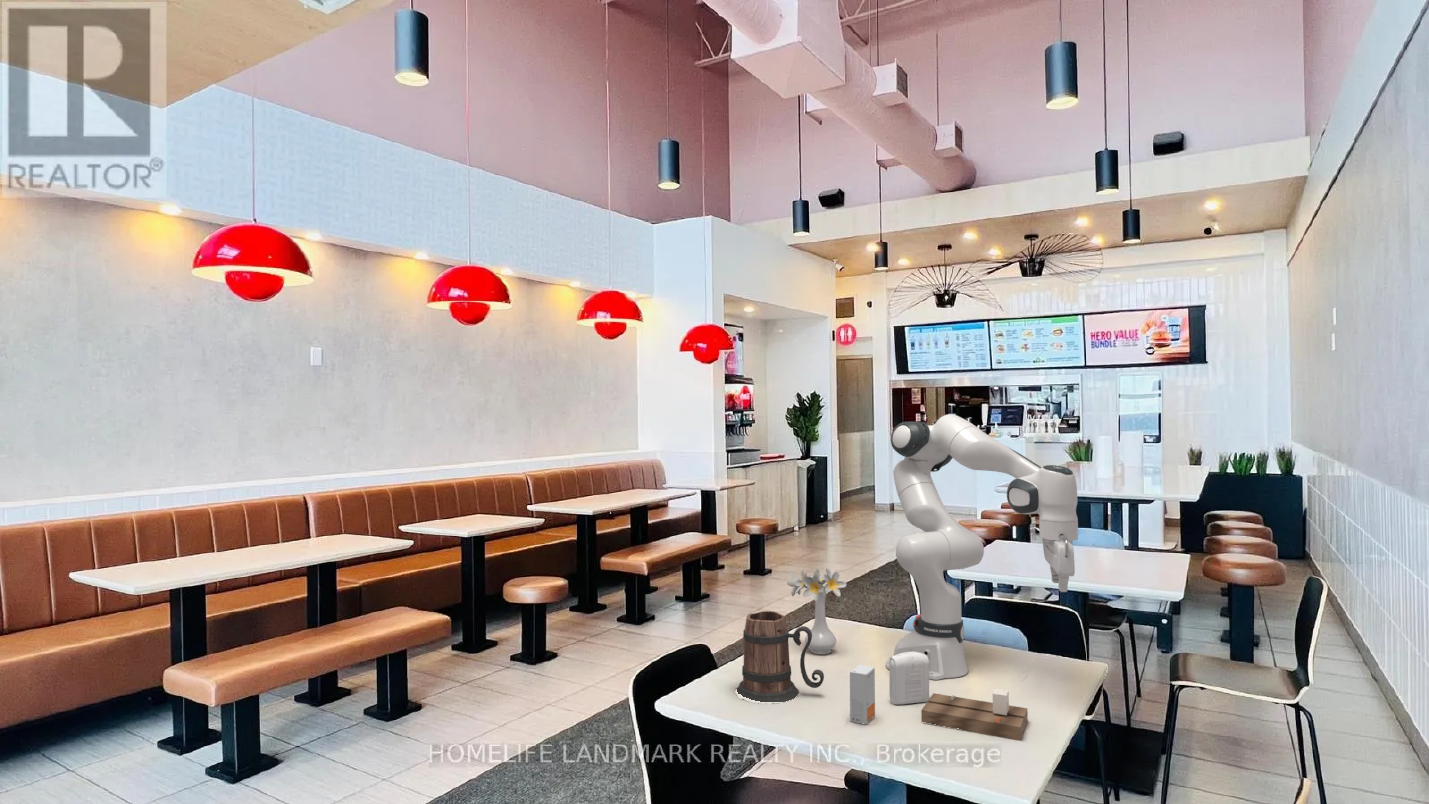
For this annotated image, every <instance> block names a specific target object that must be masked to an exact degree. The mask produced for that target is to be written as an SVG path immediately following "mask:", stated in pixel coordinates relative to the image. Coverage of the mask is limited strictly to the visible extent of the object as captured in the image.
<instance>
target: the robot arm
mask: <svg viewBox="0 0 1429 804" xmlns="http://www.w3.org/2000/svg"><path fill="white" fill-rule="evenodd" d="M890 445H891V447H892V449H893V450H894V452H896V453H898V454H899V455H900V456H902V457H903V458H904V459H902V460H900V461H899V462H897V463H896V464H895V466H894V468H893V470H892V471H893V481H894V485H895V491H896V493H897V496H898V499H899V501H900V504H901V507H902V509H903V512H904V515H905V518H906V520H907V522H909V524H911V525H912V526H913V527H915V528H918V529H919V530H922V531H923V532H922V531H921V532H914V533H910V534H907V535H904V536H902V537H900V539H899V540H898V542H897V543H896V547H895V557H896V560H897V563H898V564H899V566H901V568H902V569H903V570H904V571H906V572H908V574H909V575H910V576H911V577H912V578H913V580H914V582H915V583H916V586H917V589H918V593H919V603H920V614H917V616H916V617H915V619H914V620H913V622H912V627H913V629H914V630H912V631H911V632H909V633H908V634H906V635H904V636H903V637H902V638H901V639H900V640H898V642H897V643H896V645H895V647H894V652H893V654H892V655H891V656H890V657H888V658H887V660H886V661H885V668H886V669H887V670H889V662H890V658H891V657H893V656H895V655H897V654H900V653H905V652H918V653H922V654H925V655H927V657H928V660H929V680H936V681H938V680H942V679H943V680H944V679H950V678H951V679H954V678H959V677H963V676H966V675H967V674H968V673H969V668H968V664H967V661H966V657H965V650H964V643H963V641H964V638H965V627H964V620H963V619H962V595H961V593H960V591H959V589H958V588H957V587H956V586H954V585H952V584H951V583H949V582H947V581H946V580H945V578H944V571H952V570H953V571H954V570H963V569H968V568H971V567H974V566H976V565H979V564H981V562H982V560H983V557H984V554H985V547H984V544H983V540H982V539H981V537H980V535H978V533H976V532H974V531H972V530H970V529H968V528H966V527H965V526H963V525H962V524H960V523H959V522H958V521H957V520H956V519H955V518H954V517H953V516H952V515H951V513H950V512H949V511H948V509H946V507H945V506H944V503H943V502H942V499H941V497H940V495H939V493H938V490H937V487H936V485H935V483H934V480H933V479H932V476H931V474H932V473H935V472H939V471H940V470H941V469H942V467H945V466H946V465H948V464H949V463H950V462H951V461H952V459H954V461H956V463H959V464H960V465H961V466H963V467H966V468H967V469H970V470H974V471H985V472H998V473H1003V474H1006V475H1008V476H1011V477H1013V478H1014V479H1012V480H1011V481H1010V483H1009V484H1008V486H1007V488H1006V489H1007V490H1006V499H1007V503H1008V505H1009V507H1010V508H1011V509H1012V510H1013V511H1014V512H1016V513H1018V514H1022V515H1033V514H1038V518H1039V519H1038V520H1039V522H1038V523H1039V526H1038V527H1039V538H1041V539H1042V547H1043V548H1042V549H1043V556H1044V559H1045V561H1046V562H1047V564H1049V569H1050V573H1051V581H1052V583H1054V584H1058V590H1059V591H1060V592H1061V593H1066V592H1067V593H1068V591H1069V590H1068V589H1069V588H1068V587H1069V586H1068V584H1069V580H1070V577H1074V576H1075V571H1076V568H1075V565H1076V564H1075V552H1074V546H1073V545H1074V544H1073V541H1077V540H1078V539H1079V521H1078V520H1079V519H1078V515H1077V505H1078V487H1077V479H1076V475H1075V474H1074V472H1073V470H1071V469H1070V468H1068V467H1066V466H1061V465H1056V464H1054V465H1053V464H1050V465H1048V464H1047V465H1043V466H1041V465H1039V464H1037V463H1035V462H1033V461H1032V460H1030V459H1029V458H1028V457H1026V456H1024V455H1022V454H1021V453H1019V452H1018V451H1016V450H1014V449H1012V448H1011V447H1009V446H1006V445H1005V444H1003V443H1002V442H999V441H998V440H996V439H995V438H993V437H992V436H990V435H988V434H987V433H986V432H984V431H983V430H981V429H980V428H978V427H977V426H976V425H974V424H973V423H971V422H970V421H968V420H967V419H965V418H963V417H961V416H959V415H956V414H951V413H950V414H949V413H948V414H945V415H942V416H941V417H940V418H938V419H937V421H936V422H935V423H934V424H931V425H928V424H927V422H925V421H903V422H900V423H898V424H897V425H896V426H895V427H894V429H893V430H892V431H891V435H890Z"/></svg>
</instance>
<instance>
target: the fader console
mask: <svg viewBox="0 0 1429 804" xmlns="http://www.w3.org/2000/svg"><path fill="white" fill-rule="evenodd" d="M920 712H921V713H920V714H921V717H920V718H921V723H922V722H926V723H931V724H936V725H935V726H937V725H940V726H939V727H942V726H945V727H944V728H948V727H950V728H949V729H953V728H959V729H962V730H961V731H964V730H966V731H965V732H970V733H971V732H972V733H976V734H982V735H986V736H987V735H988V736H992V737H993V736H994V737H1000V738H1005V739H1010V740H1015V741H1022V738H1023V735H1024V733H1025V730H1026V726H1027V724H1028V719H1029V717H1028V716H1029V715H1028V713H1029V712H1028V708H1026V707H1022V706H1015V705H1010V704H1009V711H1008V713H1007V715H1000V714H996V713H993V702H992V701H991V702H990V701H985V700H978V699H971V698H966V697H961V696H959V697H958V696H956V695H946V694H940V693H932V695H931V696H929V700H928V701H927V702H926V703H925V705H924V706H923V707H922V709H921V711H920ZM931 724H930V725H931ZM959 729H958V730H959Z"/></svg>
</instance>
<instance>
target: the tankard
mask: <svg viewBox="0 0 1429 804" xmlns="http://www.w3.org/2000/svg"><path fill="white" fill-rule="evenodd" d="M785 616H786V615H784V614H781V613H780V612H776V611H773V610H772V611H771V610H770V611H769V610H764V611H762V610H761V611H759V612H753V613H749V614H748V615H747V616H746V619H745V625H744V629H743V634H742V636H743V665H742V667H741V668H742V669H741V674H742V675H741V676H742V680H741V681H740V683H739V685H738V686H737V687H736V689H737V692H738V694H741V695H742V696H743V697H746V698H749V699H751V700H755V701H760V702H783V703H787V702H790V701H792V699H793V700H795V699H796V698H797V697H798V696H799V695H798V694H800V691H799V689H798V688H797V687H796V685H795V683H794V682H793V680H791V679H792V678H791V676H792V666H791V665H790V662H791V661H790V650H789V649H790V648H789V647H790V644H789V639H790V638H792V640H793V641H794V644H796V645H797V646H798V647H800V646H801V645H802V641H801V640H800V639H801V632H805V633H806V636H807V635H808V641H807V643H806V642H805V646H804V647H803V649H802V652H801V654H800V660H799V663H800V664H799V667H800V673H801V676H802V679H803V680H804V683H805V684H806V685H807V686H808V687H810V688H813V689H818V688H819V687H820V686H822V684H823V682H824V679H825V674H824V671H822V670H821V669H815V670H813V672H812V673H811V679H812V680H813V681H812V680H811V679H810V677H809V676H808V674H807V671H806V666H805V665H806V664H805V658H806V653H807V650H808V648H809V645H810V643H811V640H812V632H811V630H812V629H810V627H807V626H805V625H802V626H799V627H797V628H796V629H795V630H794V632H793V633H790V632H789V629H788V627H787V621H786V617H785ZM816 675H817V676H819V678H820V679H819V680H818V677H816ZM814 681H817V682H814ZM797 695H798V696H797ZM796 696H797V697H796ZM795 697H796V698H795ZM794 698H795V699H794ZM789 700H790V701H789ZM786 701H787V702H786Z"/></svg>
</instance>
